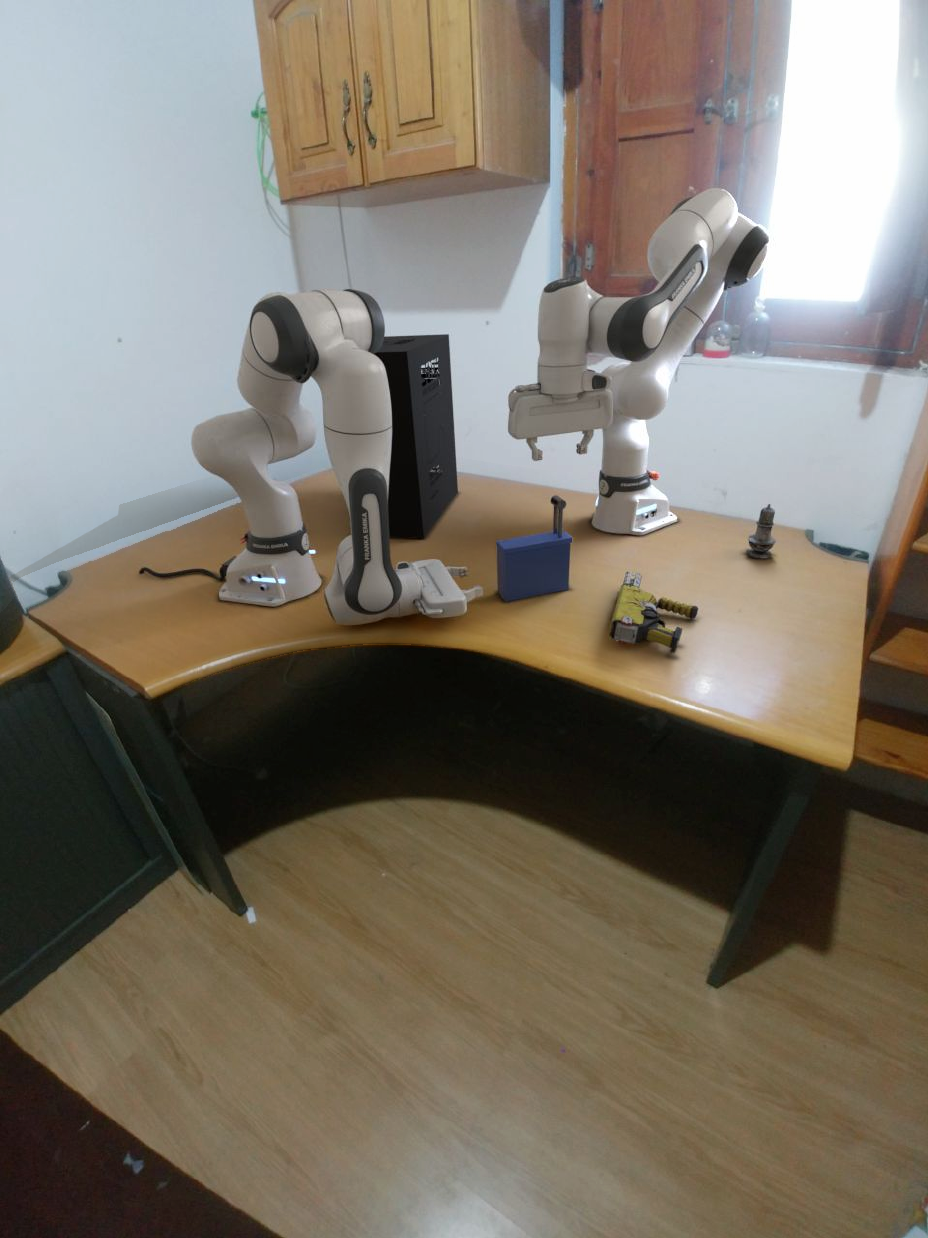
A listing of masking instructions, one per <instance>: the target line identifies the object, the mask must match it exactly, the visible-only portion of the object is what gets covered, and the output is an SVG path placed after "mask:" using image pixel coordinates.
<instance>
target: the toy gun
mask: <svg viewBox="0 0 928 1238" xmlns="http://www.w3.org/2000/svg"><path fill="white" fill-rule="evenodd" d="M632 577H634V578H632ZM642 578H643V576H642V574H641V573H640V572H636V573H635V574H633V571H630V570H629V571H626V572H625V576H624V579H623V583H622V584H621V586H620V589H619V592H618V597H617V599H616V603H615V608H614V611H613V615H612V617H611V621H610V625H609V626H610V627H609V632H608V637H609V638H610V640H614V641H617V644H619V645H621V644H623V646H624V645H625V646H627V645H628V644H631V645H638V644H642V643H644V642H646V641H650V642H653V643H656V644H660V645H663V646H665V647H667V648H669V649H670V653H673V654H675V652H676V651H677V648H678V646H679V644H680V640H681V637H682V633H683V628H682V627H680V626H675V630H672V629H670V628H667V627H666V622H665V621H664V620H662V619H660V617H661V615H660V613H659V612H658V609H659V610H662V611H663V610H665V611H666V612H672V613H673V614H678V615H680V616H685V617H686V618H689V619H691V620H693V619H696V617H697V615H698V612H699V607H698V606H696V605H692V604H687V603H685V602H680V601H678V600H676V601H674V600H673V599H667V597H660V598H659V599H658V600H657V598H656V596H655V595H654V594H653V593H651V592H647V591H644V590H642V589H640V586H641V581H642Z"/></svg>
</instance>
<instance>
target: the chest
mask: <svg viewBox="0 0 928 1238" xmlns="http://www.w3.org/2000/svg"><path fill="white" fill-rule="evenodd" d="M570 563H571V543H568V544H562V545H557V546H551V547H545V548H540V549H534V550H528V551H523V552H517V553H511V554H506V555H505V554H504V553H503V552H502V551H501V550H500V549H499V548H498V547H497V546H496V578H497V579H496V580H497V583H496V584H497V594H499V596H500V597H501V598H502V599H503V601H504V602H507V603H508V602H511V601H512V602H513V601H517V600H521V599H522V600H523V599H527V598H533V597H537V596H542V595H547V594H548V595H549V594H552V593H557V592H563V591H567V590H569V587H570Z"/></svg>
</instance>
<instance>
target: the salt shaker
mask: <svg viewBox="0 0 928 1238" xmlns="http://www.w3.org/2000/svg"><path fill="white" fill-rule="evenodd" d="M771 506H772V505H771V504H770V503H768V504H767V506H766V507H762V508H761V510H760V513H759V518H758V521H756V531H755V533H754V534H750V535H749V536H747V540H748V545H749V547H750V548H749V549H747V550H746V554H747V556H749V557H752V558H755V559H768V558H771V557H772V556H773V555H772V552H771V551H770V550H772V548H773V547H774V545H775V544H776V543H777V539H776V538H775V537H773V536H772V529H773V527H774V526H775V523H774V519H775V514H776V511H775V509H774V508H772V507H771Z"/></svg>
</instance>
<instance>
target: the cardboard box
mask: <svg viewBox="0 0 928 1238" xmlns="http://www.w3.org/2000/svg"><path fill="white" fill-rule="evenodd" d="M450 349H451V347H450V334H449V333H445V334H417V335H416V334H415V335H392V336H391V335H390V336H389V335H388V336H384V340H383V343H382V346H381V348H380V349H379V350H378V351H377V352H376V353H375V354H374V355H376V356H377V357H378V358H379V359H380V360H381V361H382V363H383V364H384V366H385V369H386V374H387V379H388V385H389V391H390V399H391V410H392V446H391V460H390V473H389V491H388V519H389V538H398V539H401V538H402V539H418V540H419V539H421V540H422V539H423V540H424V539H425V538H426V537H427V536H428V534H429V533H430V531H431V530H432V528H433V527H434V526H435V525H436V523H437V522H438V521H439V519H440V518H441V517H442V515H443V513H444V512H445V511H446V509H447V508H448V507H449V505H450V504H451V503H452V501H453V500H454V499H455V497H456V496H457V494H458V493H459V486H458V484H459V483H458V469H457V468H458V467H457V453H456V433H455V419H454V401H453V400H454V399H453V384H452V381H453V380H452V367H451V350H450ZM433 361H434V362H433ZM429 363H430V364H429ZM422 366H424V367H422ZM346 509H348V507H347V506H346ZM347 514H348V520H349V522H350V516H349V511H348V510H347ZM349 527H350V529H351V525H350V524H349Z"/></svg>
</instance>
